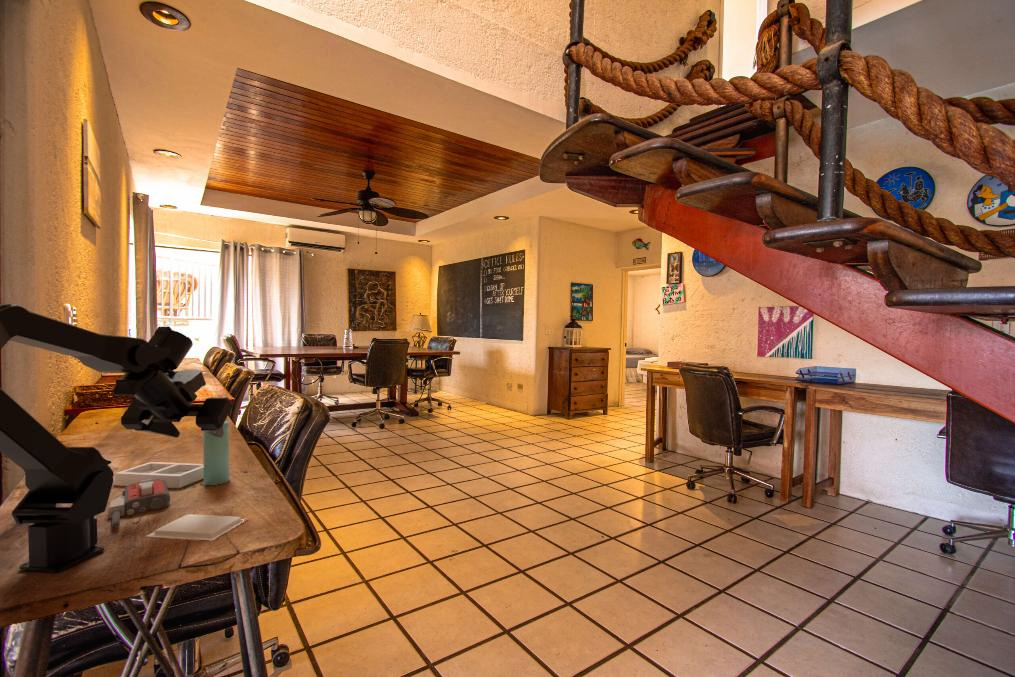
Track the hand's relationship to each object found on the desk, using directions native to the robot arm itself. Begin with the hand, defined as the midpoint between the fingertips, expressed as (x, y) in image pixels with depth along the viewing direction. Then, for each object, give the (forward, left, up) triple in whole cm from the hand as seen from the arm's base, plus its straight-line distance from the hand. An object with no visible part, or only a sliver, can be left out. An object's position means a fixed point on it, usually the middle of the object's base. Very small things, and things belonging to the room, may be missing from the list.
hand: (200, 435), depth 93 cm
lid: (-16, -14, -12) cm, 25 cm away
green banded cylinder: (+5, +1, -11) cm, 13 cm away
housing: (+5, +14, -11) cm, 18 cm away
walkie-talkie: (-10, +4, -12) cm, 16 cm away
